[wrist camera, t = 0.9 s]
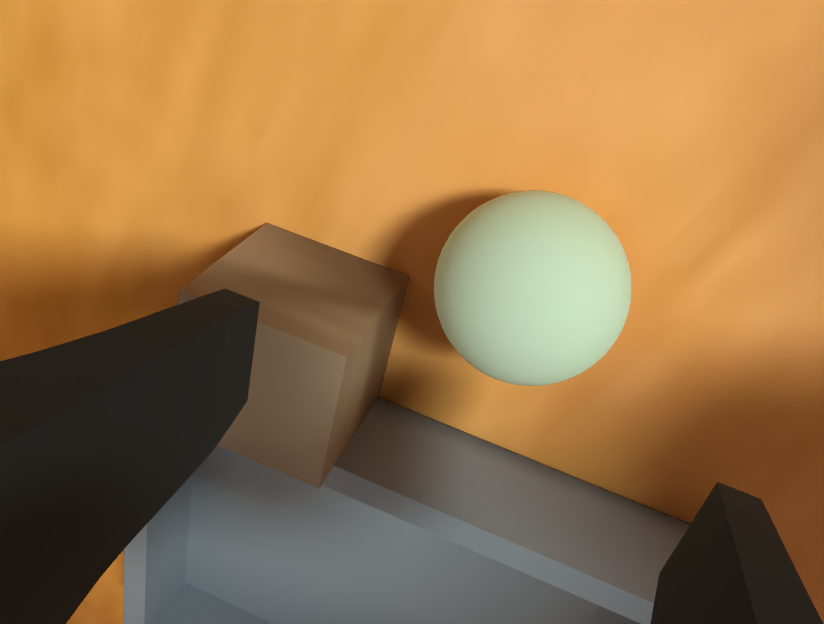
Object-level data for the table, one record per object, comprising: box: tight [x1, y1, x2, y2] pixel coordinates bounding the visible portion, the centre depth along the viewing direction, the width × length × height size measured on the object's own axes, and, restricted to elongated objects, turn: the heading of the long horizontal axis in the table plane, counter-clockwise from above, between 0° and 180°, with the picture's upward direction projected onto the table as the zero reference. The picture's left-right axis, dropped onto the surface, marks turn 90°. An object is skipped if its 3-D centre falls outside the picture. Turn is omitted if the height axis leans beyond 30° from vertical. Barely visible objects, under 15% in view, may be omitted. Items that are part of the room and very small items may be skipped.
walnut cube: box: [178, 223, 409, 489], centre depth 19 cm, size 4×4×4 cm
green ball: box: [434, 190, 632, 386], centre depth 15 cm, size 4×4×4 cm
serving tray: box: [124, 397, 690, 624], centre depth 23 cm, size 16×12×3 cm
